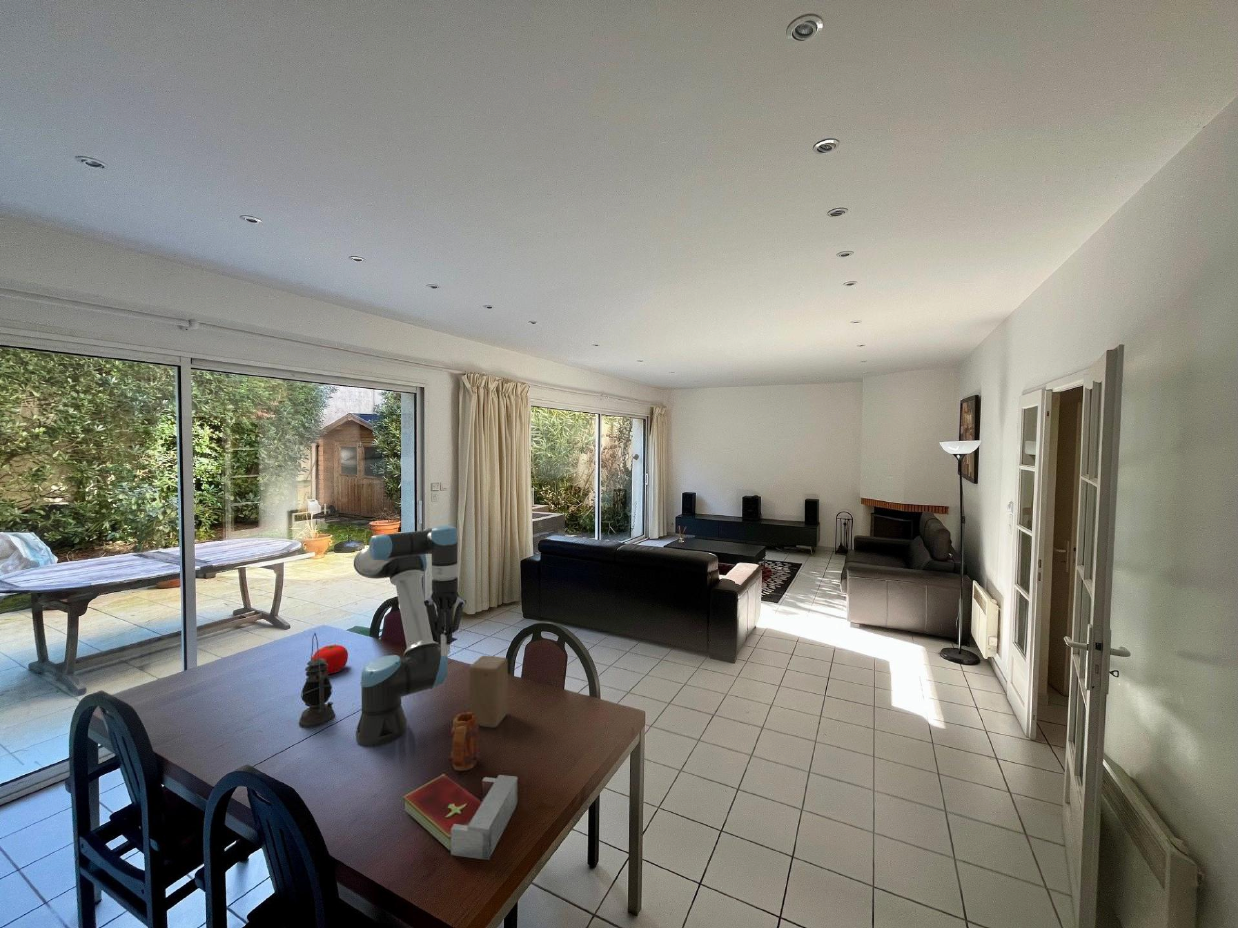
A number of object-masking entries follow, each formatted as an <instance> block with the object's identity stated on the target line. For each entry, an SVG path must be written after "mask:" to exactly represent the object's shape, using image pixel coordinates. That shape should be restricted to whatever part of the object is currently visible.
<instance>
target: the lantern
mask: <svg viewBox="0 0 1238 928" xmlns="http://www.w3.org/2000/svg"><path fill="white" fill-rule="evenodd" d="M314 637H315V640H316V648H317V649H316V651H318V650H319V641H318V638H317V633H316V632H314V634H313V635H312V639H311V640H312V641H311V643H312V645H311V653H310V655H311V656H310V660H309V661H307V663H306V665H307V666H306V667H305V668H304V671H305V676H306V679H305V683H304V685H303V687H302V690H301V693H300V698H301V700H302V701H303V703H304V705H305V706H306V707H307V708H305V709H304V710H303V711H302V713H301V715H300V718H299V721H298V726H299V727H301V728H305V729H314V728H317V727H321V726H322V727H323V726H324V725H326V724H329V723H330V722H331V721H333V720H334V718H335V717H336V714H335V711H334V709H333V705H334V702H332V701H329V699H330V698H331V696H332V694H333V691H332V689H333V685H332V683H331V680H330V679H329V677H328V674H325V673H326V672H327V667H328V664H327V663H325V662H326V659H323V658H319V652H318V653H316V652H314ZM313 652H314V653H313ZM314 654H315V659H314V660H312V657H313V655H314ZM316 654H317V655H318V659H316Z"/></svg>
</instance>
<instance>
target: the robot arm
mask: <svg viewBox="0 0 1238 928" xmlns="http://www.w3.org/2000/svg"><path fill="white" fill-rule="evenodd" d="M458 541H459V537H458V528H457V527H455V526H452V525H451V526H449V525H441V526H435V527H433V528H424V529H423V530H418V531H417V530H416V531H407V532H398V533H397V532H396V533H382V534H377V535H373V536H371V538H370V539H369V544H368V545H369V546H368V547H366V548H363V549H362V550H360V551H359V552H358V553H356V555H355V557H354V559H353V568H354V570H355V572H356V573H357V574H358V575H360V576H362V577H364V578H367V579H374V580H376V579H377V580H378V579H379V580H380V579H386V578H387V579H388V578H389V580H390V584H391V585H393V586H395V589H396V594H397V600H398V605H399V611H400V616H401V617H400V618H401V623H402V627H403V634H404V639H405V644H406V649H405V651H404V652H403V658H401V657H400V656H399V655H396V654H391V655H384V656H381V657H378V658H375V659H374V660H371V661H370V662H368V663H367V664H366V665H365V666H364V667H363V669H362V671H361V675H360V676H361V677H360V679H361V680H360V686H361V690H360V691H361V714H360V717H359V720H358V723H357V726H356V730H355V741H356V743H358V744H359V745H360V746H365V747H376V746H382V745H386V744H389V743H390V744H391V743H392V742H395V741H396V740H398V739H399V738H401V737H402V736H403V735H405V733H406V732H407V730H408V718H407V716H406V714H405V711H404V707H403V706H402V698H403V697H405V696H409V695H412V694H416V693H419V692H422V691H423V692H424V691H427V690H432V689H433V688H436V687H439V686H442V685H443V684H444V683H445V682H446V680H447V676H448V673H449V657H448V655H450V653H451V644H452V643H453V634H454V633H455V632H456V631H458V630H459V627H460V622H461V619H462V614H463V611H464V607H465V606H466V604H467V600H466V599H461V597H460V595H459V593H458V590H459V579H458V576H459V570H458V569H459V568H458V567H459V566H458V560H459V559H458V556H459V555H458V548H459V545H458V544H459V543H458ZM426 555H431V578H432V579H431V591H432V593H431V595H430V597H429V598H427V599H425V595H424V591H423V586H422V581H421V579H422V578H423V576H424V575H425V574H424V573H425V572H426V570H427V569H428V562H427V556H426ZM455 605H456V608H455V607H454V606H455ZM454 608H455V612H454ZM432 632H434V633H437V635H438V637H437V640H438V641H434V639H433V634H432Z"/></svg>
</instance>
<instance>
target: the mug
mask: <svg viewBox="0 0 1238 928" xmlns="http://www.w3.org/2000/svg"><path fill="white" fill-rule="evenodd" d="M452 723H453V724H452V725H453V726H452V727H451V731H450V732H449V736H451V737H452V746H453V747H452V751H451V752H450V755H449V758H448V761H449V762H451V763H452V766H453V769H454V770H456V771H467V770H468V771H469V770H471V769H472V768H475V766H476V764H477V760H478V758H479V755H480V754H479V753H480V752H481V750H482V748H481V747H479V746H477V738H478V737H477V735H478V732H479V728H480V727H481V726H480V724H479V723H477V722H476V716H475V715H474V713H472V712H469V711H466V712H465V711H462V712H460V713H459V714H458V713H457V715H456V716H455V717H454V719H453V721H452Z"/></svg>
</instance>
